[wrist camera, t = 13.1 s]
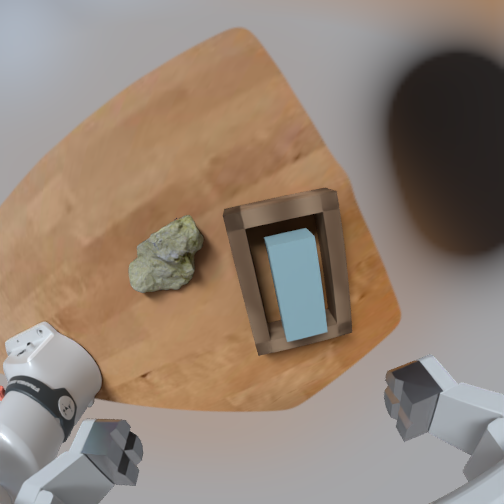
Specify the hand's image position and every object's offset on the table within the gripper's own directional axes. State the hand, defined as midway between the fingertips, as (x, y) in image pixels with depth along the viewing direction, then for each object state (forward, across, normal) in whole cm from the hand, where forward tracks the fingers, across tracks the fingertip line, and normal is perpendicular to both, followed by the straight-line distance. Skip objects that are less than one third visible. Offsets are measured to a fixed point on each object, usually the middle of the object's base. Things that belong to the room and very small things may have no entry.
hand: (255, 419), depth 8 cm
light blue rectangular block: (+28, -5, +8) cm, 29 cm away
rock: (+32, +10, +2) cm, 33 cm away
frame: (+31, -5, +8) cm, 32 cm away
